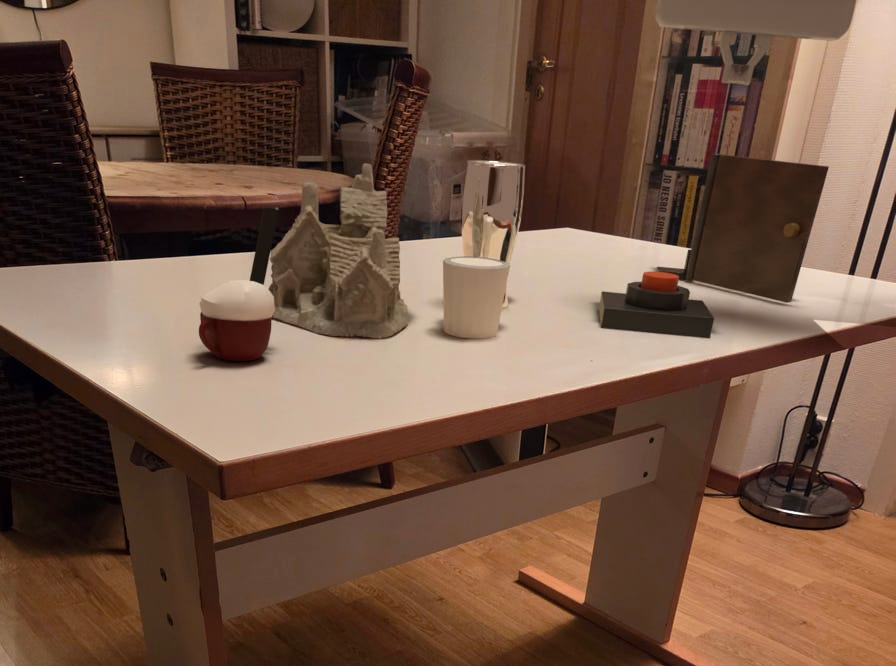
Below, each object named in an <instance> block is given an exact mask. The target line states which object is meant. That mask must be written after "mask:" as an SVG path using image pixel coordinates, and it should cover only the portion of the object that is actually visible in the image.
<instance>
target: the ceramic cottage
mask: <svg viewBox="0 0 896 666" xmlns="http://www.w3.org/2000/svg"><path fill="white" fill-rule="evenodd" d="M301 187H302V188H301V189H302V190H301V203H300V205H301V206H300V212H299V215H297V216H296V218H294V221H295V222H293V224H292V226H291V228H290V229H289V230H288V231H287V233H285V234H284V237H282V240H280V241H279V242H278V243H277V244H276V246H274V248H273V249H271V251H270V256H269V262H270V263H271V267H270V270H271V272H272V273H271V275H270V277H271V279H272V280H271V283H270V284H269V286H268V290H269V291H270V292H271V294H272V295H273V297H274V305H275V311H274V313H273V315H272V319H277V320H279V321H281V322H283V323H284V322H285V323H288V324H291V325H296V326H298V327H301V328H303V329H305V330H308V331H309V330H310V332H313V333H316V334H321V335H327V336H331V337H337V336H339V337H340V336H341V337H347V338H348V337H349V336H351V338H353V337H354V336H358V337H363V338H366V337H367V338H372V339H373V338H374V339H376V338H377V339H380V340H381V339H382V338H384V339H386V338H390V337H391V336H395V334H397V333H398V332H399V333H400V332H401V330H402V329H404V328H406V327H407V326H408V324H409V316H408V313H409V311H408V309H409V308H408V304H406V303H405V301H404V299H403V298H401V291H400V283H401V259H400V252H401V246H400V237H391V238H386V235H385V232H386V230H387V227H388V225H387V220H388V203H387V195H388V194H387V191H386V190H381V191H380V190H379V191H377V190H375V185H374V174H373V166H372V164H370V163H363V164H362V167H361V173H360V174H356V175H355V177H354V179H353V181H352V185H351V187H346V186H340V189H339V210H340V211H339V221H340V224H326V223H322V222H321V221H320V217H319V192H318V191H319V185H317V183H316V182H308V181H305V182H304V183H302V185H301Z"/></svg>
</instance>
